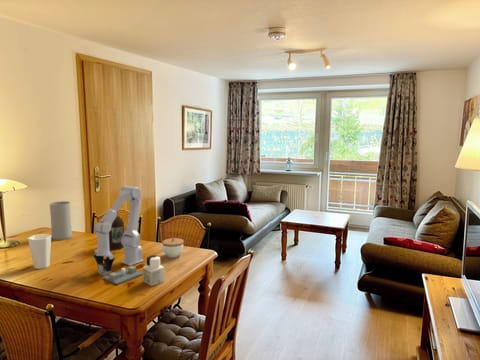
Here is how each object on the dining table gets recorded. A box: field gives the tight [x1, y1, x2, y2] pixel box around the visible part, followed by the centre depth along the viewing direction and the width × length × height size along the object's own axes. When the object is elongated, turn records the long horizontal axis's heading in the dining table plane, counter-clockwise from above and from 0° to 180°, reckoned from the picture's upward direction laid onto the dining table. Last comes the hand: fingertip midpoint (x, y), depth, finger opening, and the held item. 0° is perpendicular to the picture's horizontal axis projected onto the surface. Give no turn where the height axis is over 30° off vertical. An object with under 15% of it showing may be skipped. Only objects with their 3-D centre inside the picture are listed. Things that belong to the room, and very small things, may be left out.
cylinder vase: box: [49, 200, 73, 241], centre depth 241 cm, size 12×12×25 cm
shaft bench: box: [102, 265, 143, 286], centre depth 176 cm, size 15×12×4 cm
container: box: [142, 254, 166, 287], centre depth 170 cm, size 8×8×13 cm
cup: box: [27, 233, 52, 270], centre depth 188 cm, size 11×10×17 cm
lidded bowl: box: [161, 237, 185, 259], centre depth 206 cm, size 13×13×11 cm
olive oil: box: [109, 211, 125, 250], centre depth 220 cm, size 11×11×25 cm
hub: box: [97, 262, 112, 277], centre depth 180 cm, size 5×5×5 cm
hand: (104, 269), depth 180 cm, fingers open, 7 cm apart
